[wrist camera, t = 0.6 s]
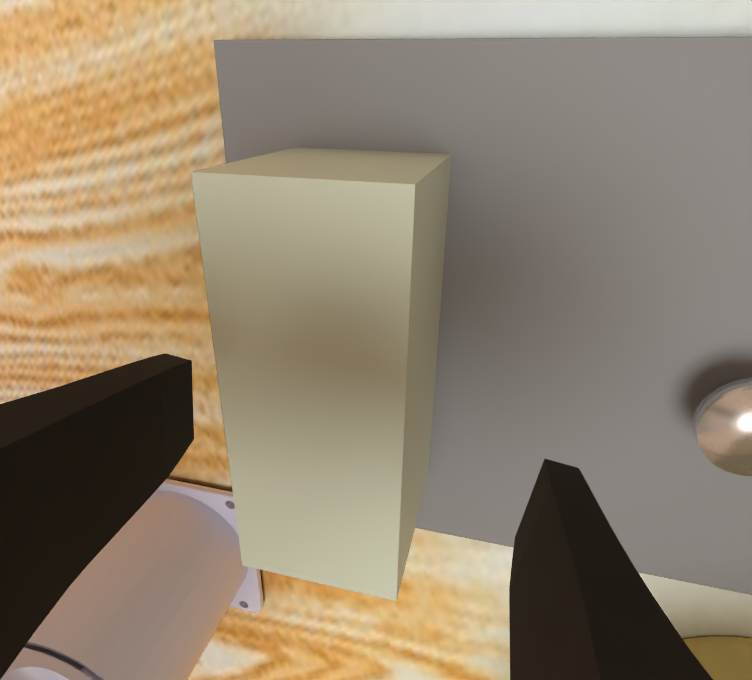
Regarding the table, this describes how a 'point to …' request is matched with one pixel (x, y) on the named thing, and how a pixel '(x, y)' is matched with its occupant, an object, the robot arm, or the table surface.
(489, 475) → the mounting board
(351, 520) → the pale green block
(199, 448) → the table surface
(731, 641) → the potted cactus
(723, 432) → the disc
